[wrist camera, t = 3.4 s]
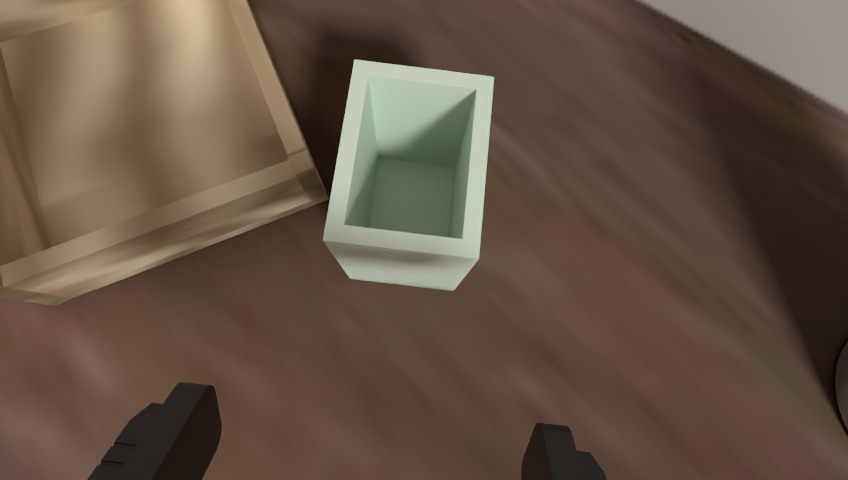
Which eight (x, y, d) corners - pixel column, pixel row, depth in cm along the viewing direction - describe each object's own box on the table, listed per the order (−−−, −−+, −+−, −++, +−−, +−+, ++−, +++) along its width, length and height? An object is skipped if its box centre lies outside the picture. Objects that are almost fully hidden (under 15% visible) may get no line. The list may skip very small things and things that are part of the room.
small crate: (465, 163, 28) (494, 76, 19) (453, 290, 26) (478, 258, 17) (369, 151, 28) (354, 59, 19) (350, 278, 26) (322, 240, 17)
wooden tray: (235, -31, 31) (205, -99, 26) (329, 199, 27) (313, 167, 22) (-10, 44, 28) (-91, -17, 24) (55, 305, 25) (-27, 294, 20)
